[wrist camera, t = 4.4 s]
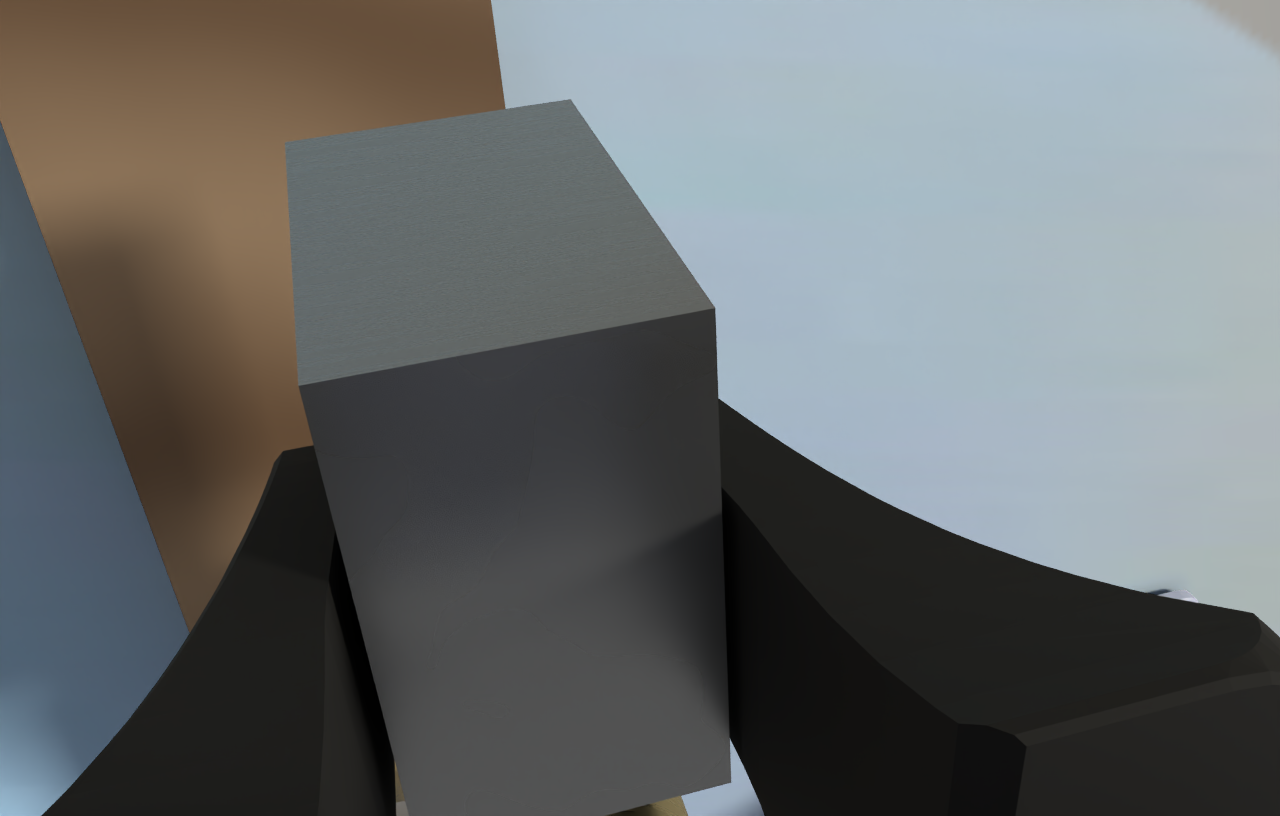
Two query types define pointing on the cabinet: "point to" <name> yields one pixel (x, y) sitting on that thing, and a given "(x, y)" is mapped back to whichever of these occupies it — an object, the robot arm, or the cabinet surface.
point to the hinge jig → (207, 214)
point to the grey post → (516, 462)
